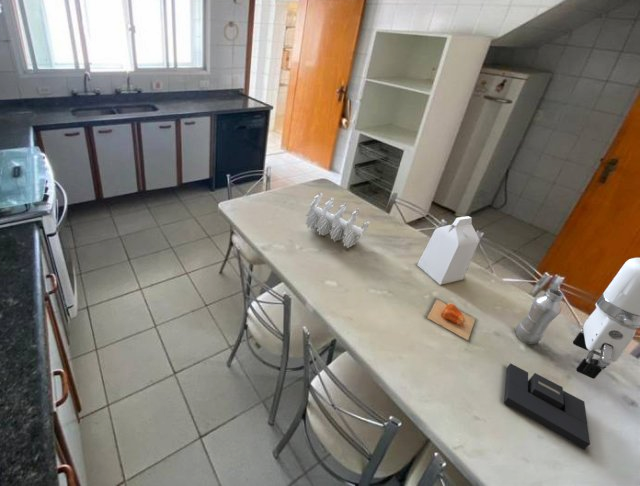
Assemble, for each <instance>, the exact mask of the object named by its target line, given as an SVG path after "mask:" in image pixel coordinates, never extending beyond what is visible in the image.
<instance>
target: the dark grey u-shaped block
mask: <svg viewBox="0 0 640 486" xmlns="http://www.w3.org/2000/svg"><path fill="white" fill-rule="evenodd" d="M505 372H506V373H505V381H504V382H505V383H504V394H503V395H504V396H503V404H505V405H506V406H508V407H510V408H512V409H513V410H515V411H516V412H518V413H521V414H522V415H523V416H525V417H527V418H529V419H530V420H532V421H534V422H536V423H537V424H539V425H541V426H543V427H544V428H546V429H548V430H550V431H551V432H553V433H555V434H557V435H558V436H560V437H561V438H563V439H565V440H566V441H568V442H570V443H572V444H573V445H576V446H577V447H579V448H581V449H582V450H586V449H587V448H589V446H590V445H591V440H590V433H589V426H588V417H587V411H586V404H585V401H584V400H583V399H580V398H579V397H577V396H574V395H573V394H571V393H569V392H567V391H566V390H563V397H564V405H563V406H562V407H561V409H558V408H556V407H555V406H553V405H551V404H549V403H547V402H545V401H544V400H542V399H540V398H538V397H536V396H534V395H533V394H531V393H529V392H528V381H529V372H528V371H526V370H524V369H522V368H521V367H519V366H517V365H515V364H513V363H511V362H510V363H509V364H508V366H507V367H506V371H505Z"/></svg>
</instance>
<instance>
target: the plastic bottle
mask: <svg viewBox="0 0 640 486" xmlns="http://www.w3.org/2000/svg"><path fill="white" fill-rule="evenodd" d="M564 297H565V294H564V293H563V292H562V291H560V290H559V289H556V288H552V287H550V288H548V290H546V292H545V293H544V294H541V295H538V296H536V297H535V298H534V299H533V300H532V303H531V307H530V309H529V311H528V312H527V314H526V316H525V317H524V318H523V319H522V320H521V321H520V322H519V323H518V324H516V325H515V328H514V333H515V335H516V337H517V338H518V339H519V340H521V341H522V342H524V343H526V344H529V345H536V344H538V343H540V341H542V338H543V336H544V333H545V331H546V329H547V328H548V326H549V325H550V324H551V323H552V321H554V319H556V318H557V317H558V316H559V315H560V314H561V312H562V306H561V305H562V304H561V302H562V301H563V299H564Z"/></svg>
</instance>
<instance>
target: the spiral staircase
mask: <svg viewBox="0 0 640 486" xmlns="http://www.w3.org/2000/svg"><path fill="white" fill-rule="evenodd" d="M322 199H323V193H322V192H321V193H320V192H318V193H317V195H315V196H314V197H313V199H312V201H311V203H310V204H309V205H308V211H307V213H306V214H305V216H306V217H307V218H306V222H305V225H306V228H307V229H310V230H311V231H313V229H314V230H315V229H316V228H317V230H316V232H318V235H319V236H320V235H321V236H323V237H325V235H327V234H329V235H330V239H331V240H333V242H334V243H335V242H336V241H340V240H341V239H343V240H342V243H343V247H344V248H345V247H346V248H347V249H349V248H351V247H353V246H354V245H356V244H357V242H358V241H359V240H360V239H362V238H363V236H364V234H365V232H366V231H367V229H368V227H369V225H370V221H366V222H364V223H362V225H361V226H358V225H356V224H355V222H356V220H357V218H358V215H359V209H360V208H357V207H356V208H355V209H354V211H353V212H352V213H351V215H350V217H349V219H348V220H346V219H344V218H343V216H344V214H345V211H346V207H347V203H346V202H342V204H341V205H339V207H338V209H337V212H336V213H335V214H334V213H331V211H332V209H333V207H334V197H331V198H328V200H327V201H326V202H325V203H324V206H323V208H321V207H319V206H317V205H318V204H320V202H321V200H322Z"/></svg>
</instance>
